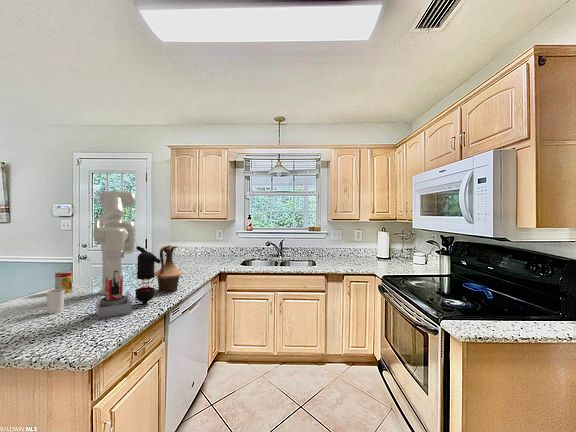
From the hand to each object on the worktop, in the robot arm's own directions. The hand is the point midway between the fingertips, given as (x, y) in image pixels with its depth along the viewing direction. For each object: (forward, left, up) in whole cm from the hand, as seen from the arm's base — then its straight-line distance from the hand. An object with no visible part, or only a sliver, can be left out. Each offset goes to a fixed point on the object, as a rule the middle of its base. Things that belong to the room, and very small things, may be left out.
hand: (113, 292), depth 134 cm
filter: (-6, +16, -10) cm, 20 cm away
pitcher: (-28, +33, -10) cm, 44 cm away
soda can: (0, 0, -3) cm, 3 cm away
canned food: (-58, -17, -10) cm, 61 cm away
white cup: (-18, -21, -10) cm, 29 cm away
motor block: (0, 0, -10) cm, 10 cm away
